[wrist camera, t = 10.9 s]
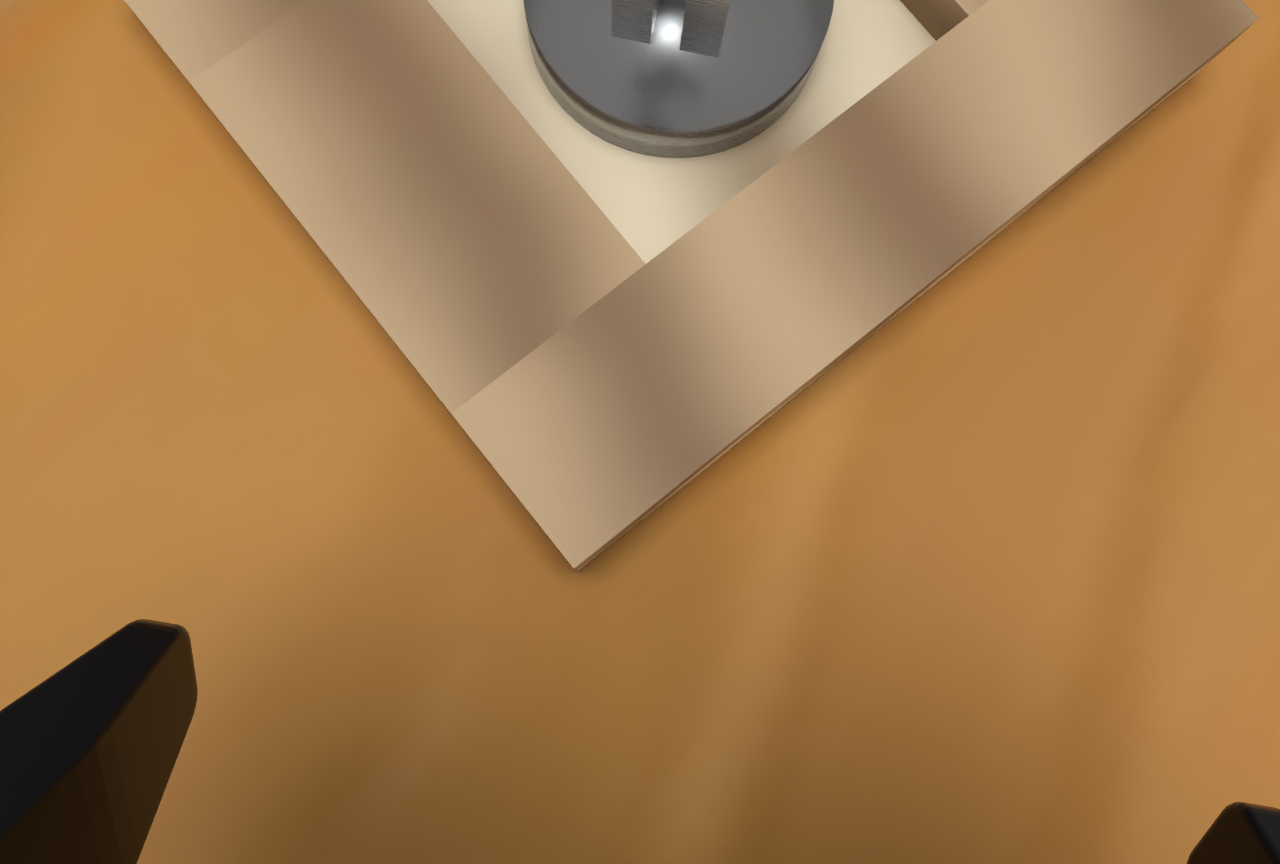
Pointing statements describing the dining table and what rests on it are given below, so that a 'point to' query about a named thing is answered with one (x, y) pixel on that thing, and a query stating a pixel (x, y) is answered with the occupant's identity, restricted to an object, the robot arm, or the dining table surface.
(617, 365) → the square wooden tray
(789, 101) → the round base pedestal
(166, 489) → the dining table surface
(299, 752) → the dining table surface
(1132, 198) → the dining table surface
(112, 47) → the dining table surface
